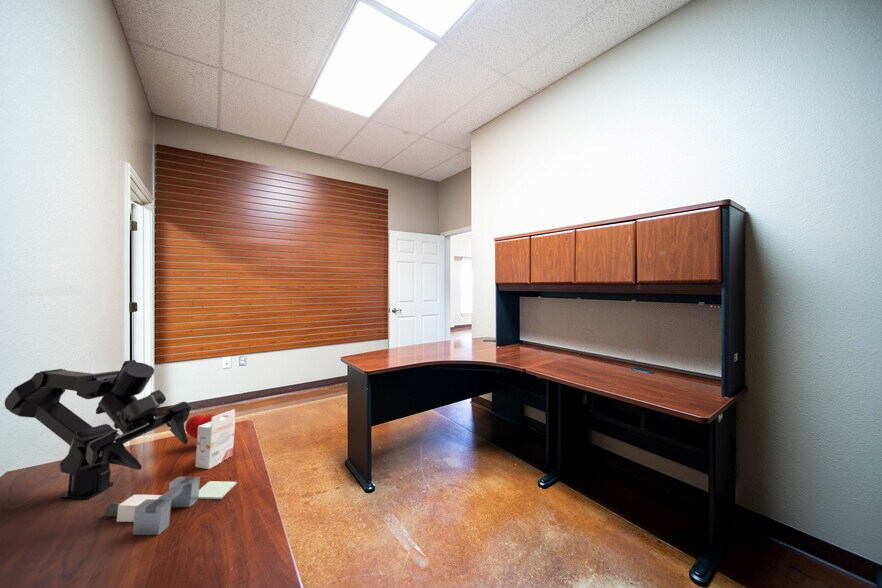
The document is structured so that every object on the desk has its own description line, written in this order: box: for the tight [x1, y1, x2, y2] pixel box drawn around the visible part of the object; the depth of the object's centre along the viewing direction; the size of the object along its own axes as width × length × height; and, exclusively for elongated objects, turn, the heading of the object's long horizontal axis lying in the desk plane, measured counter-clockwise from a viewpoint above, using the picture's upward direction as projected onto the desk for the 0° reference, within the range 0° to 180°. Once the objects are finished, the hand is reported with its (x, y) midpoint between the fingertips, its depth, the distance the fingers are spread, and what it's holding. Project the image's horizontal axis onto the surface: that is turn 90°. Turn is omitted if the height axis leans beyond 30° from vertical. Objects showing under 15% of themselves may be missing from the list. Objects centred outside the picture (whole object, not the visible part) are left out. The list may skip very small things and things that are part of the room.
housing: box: [132, 476, 201, 536], centre depth 72 cm, size 5×12×5 cm, turn 4°
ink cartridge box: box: [195, 409, 236, 470], centre depth 97 cm, size 9×5×15 cm, turn 168°
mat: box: [198, 480, 238, 500], centre depth 82 cm, size 7×7×1 cm
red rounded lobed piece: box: [184, 414, 217, 446], centre depth 106 cm, size 9×7×10 cm
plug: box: [105, 494, 163, 523], centre depth 72 cm, size 9×4×3 cm, turn 94°
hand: (165, 455), depth 75 cm, fingers open, 9 cm apart
